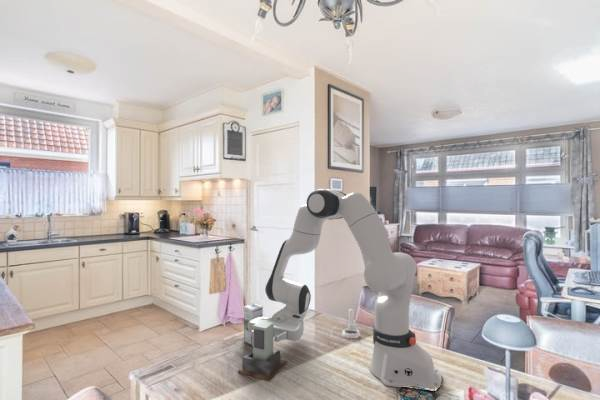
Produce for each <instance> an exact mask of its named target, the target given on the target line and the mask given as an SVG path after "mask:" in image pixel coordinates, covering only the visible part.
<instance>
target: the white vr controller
mask: <svg viewBox="0 0 600 400" xmlns="http://www.w3.org/2000/svg"><path fill="white" fill-rule="evenodd" d="M358 328H359V326H358V324H357V323H355V311H354V309H351V308H349V309H348V325H347V328H344V329H343V330H342V333H341V335H342V337H344V338H346V339H349V338H351V339H352V338H355V339H359V338H360V337H361V333H360V331H359V330H358ZM348 332H353V333H348ZM359 336H360V337H359ZM358 337H359V338H358ZM351 339H350V340H351Z"/></svg>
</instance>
